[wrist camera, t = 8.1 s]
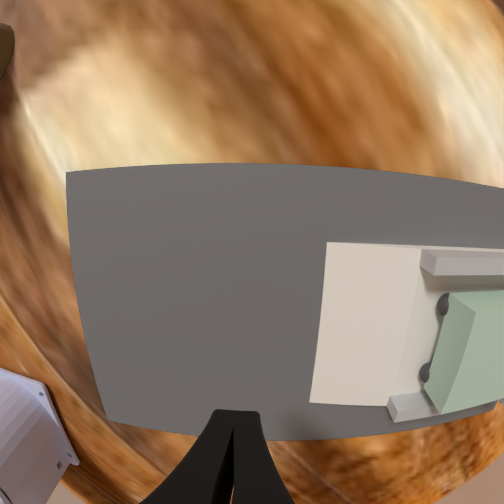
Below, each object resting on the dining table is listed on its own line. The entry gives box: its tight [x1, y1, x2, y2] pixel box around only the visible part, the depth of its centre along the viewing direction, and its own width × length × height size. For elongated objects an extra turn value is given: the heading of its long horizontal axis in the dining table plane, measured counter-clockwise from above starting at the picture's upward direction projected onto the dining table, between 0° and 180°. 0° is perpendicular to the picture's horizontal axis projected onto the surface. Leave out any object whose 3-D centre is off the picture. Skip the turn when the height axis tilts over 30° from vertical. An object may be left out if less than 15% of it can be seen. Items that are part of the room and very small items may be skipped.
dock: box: [66, 163, 504, 441], centre depth 14 cm, size 16×28×4 cm, turn 89°
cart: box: [419, 290, 504, 415], centre depth 12 cm, size 6×7×3 cm
